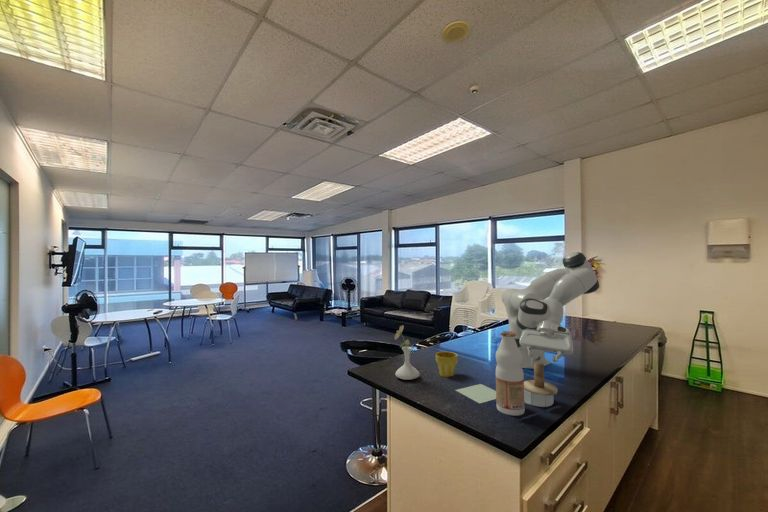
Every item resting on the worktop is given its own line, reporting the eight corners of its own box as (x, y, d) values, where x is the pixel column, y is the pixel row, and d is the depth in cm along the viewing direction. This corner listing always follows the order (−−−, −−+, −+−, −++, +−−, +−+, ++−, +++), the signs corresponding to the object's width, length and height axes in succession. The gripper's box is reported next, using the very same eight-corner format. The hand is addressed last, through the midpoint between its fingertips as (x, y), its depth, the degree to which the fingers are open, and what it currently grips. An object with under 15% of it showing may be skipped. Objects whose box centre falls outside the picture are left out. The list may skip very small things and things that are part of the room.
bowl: (533, 393, 124) (533, 380, 124) (559, 404, 114) (559, 390, 114) (514, 399, 119) (513, 386, 119) (539, 410, 109) (539, 396, 109)
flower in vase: (406, 371, 151) (405, 321, 152) (424, 377, 143) (423, 323, 144) (387, 378, 142) (387, 324, 143) (406, 385, 134) (405, 328, 135)
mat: (480, 385, 133) (480, 383, 133) (506, 397, 120) (506, 395, 120) (455, 391, 127) (455, 390, 127) (479, 405, 114) (479, 403, 114)
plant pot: (458, 379, 140) (458, 358, 140) (435, 378, 142) (435, 357, 142) (457, 371, 150) (457, 351, 150) (436, 370, 152) (435, 351, 152)
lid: (537, 380, 124) (536, 357, 124) (565, 392, 113) (564, 366, 113) (515, 385, 119) (514, 361, 119) (541, 397, 108) (540, 371, 108)
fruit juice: (492, 411, 109) (490, 332, 110) (501, 402, 116) (499, 328, 117) (520, 420, 103) (517, 336, 104) (528, 409, 110) (525, 331, 111)
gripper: (521, 323, 138) (514, 350, 131) (573, 329, 124) (568, 359, 117) (525, 332, 141) (518, 358, 134) (576, 338, 128) (571, 368, 120)
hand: (542, 359), depth 125 cm, fingers open, 8 cm apart
